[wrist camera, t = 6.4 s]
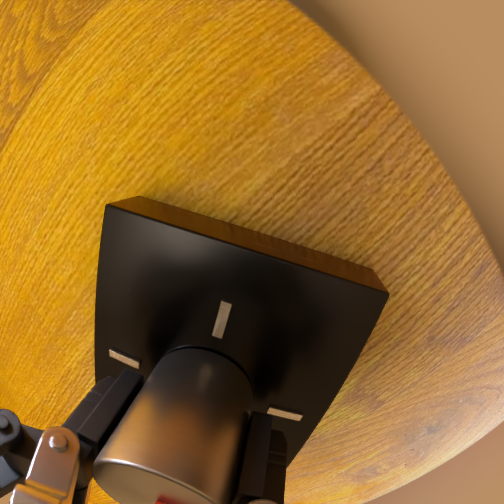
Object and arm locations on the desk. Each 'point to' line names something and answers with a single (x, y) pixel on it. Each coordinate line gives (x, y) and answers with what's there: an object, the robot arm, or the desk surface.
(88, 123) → the desk surface
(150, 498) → the hob knob
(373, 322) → the hob panel
